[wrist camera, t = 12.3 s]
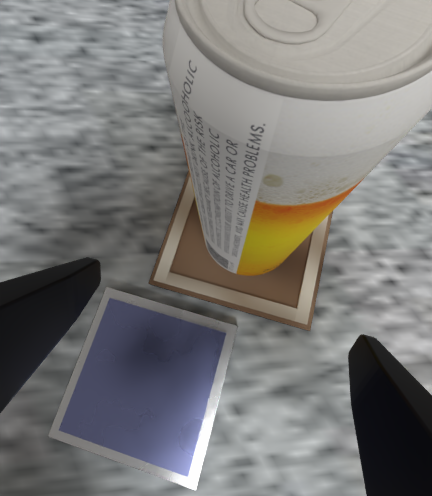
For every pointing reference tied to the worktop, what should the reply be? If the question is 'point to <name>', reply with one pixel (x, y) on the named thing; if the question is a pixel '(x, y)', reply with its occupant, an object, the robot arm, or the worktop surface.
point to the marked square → (234, 285)
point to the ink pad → (147, 386)
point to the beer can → (290, 110)
